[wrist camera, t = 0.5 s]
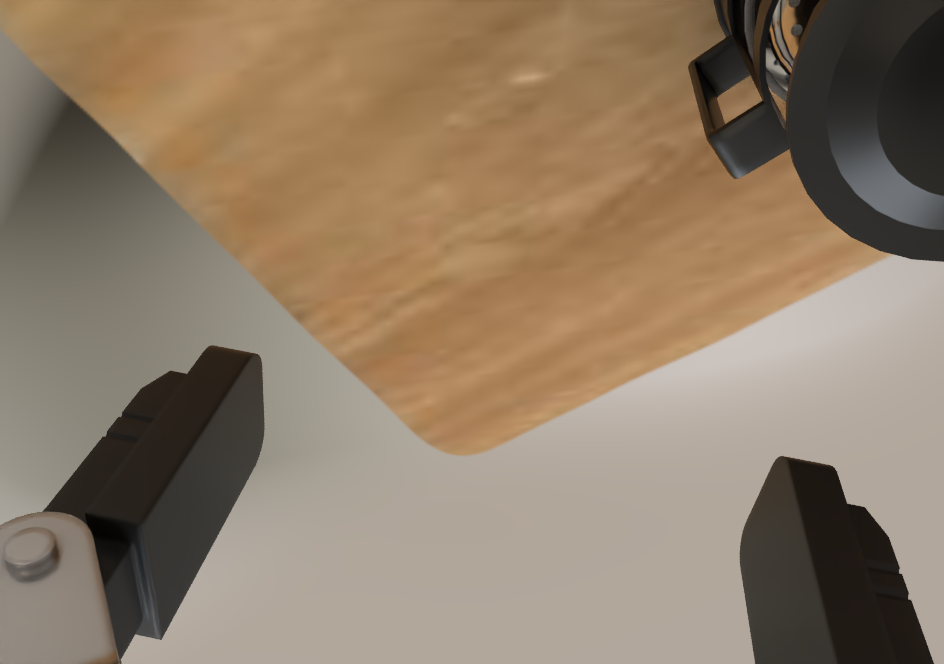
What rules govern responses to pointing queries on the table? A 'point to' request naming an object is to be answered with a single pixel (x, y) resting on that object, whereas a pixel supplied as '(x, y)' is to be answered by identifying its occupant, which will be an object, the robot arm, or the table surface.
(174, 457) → the robot arm
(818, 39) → the french press
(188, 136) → the table surface
